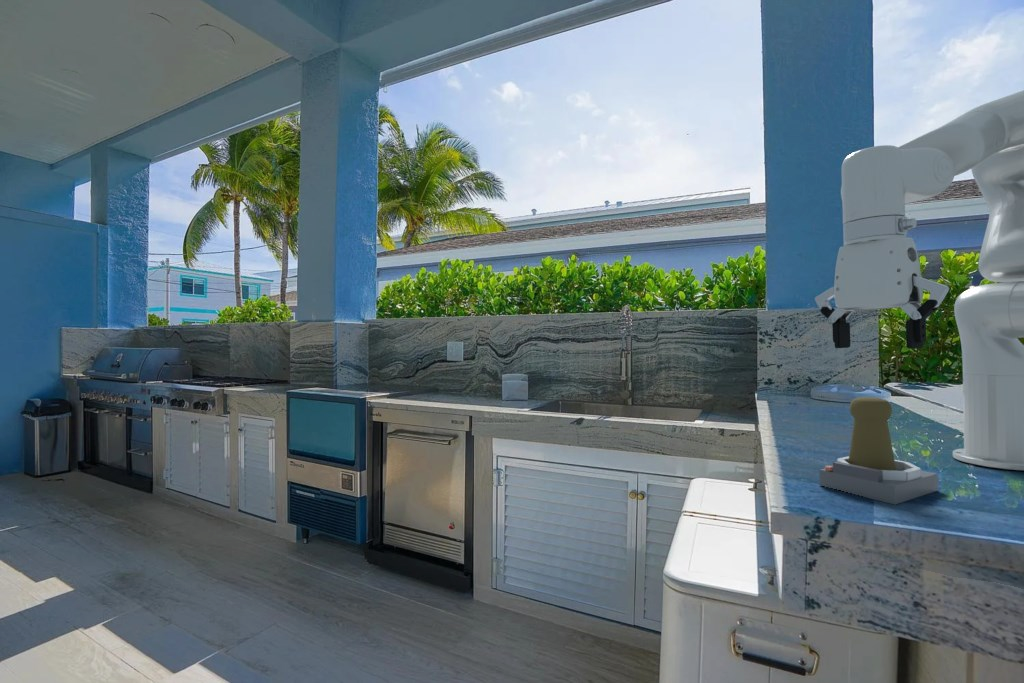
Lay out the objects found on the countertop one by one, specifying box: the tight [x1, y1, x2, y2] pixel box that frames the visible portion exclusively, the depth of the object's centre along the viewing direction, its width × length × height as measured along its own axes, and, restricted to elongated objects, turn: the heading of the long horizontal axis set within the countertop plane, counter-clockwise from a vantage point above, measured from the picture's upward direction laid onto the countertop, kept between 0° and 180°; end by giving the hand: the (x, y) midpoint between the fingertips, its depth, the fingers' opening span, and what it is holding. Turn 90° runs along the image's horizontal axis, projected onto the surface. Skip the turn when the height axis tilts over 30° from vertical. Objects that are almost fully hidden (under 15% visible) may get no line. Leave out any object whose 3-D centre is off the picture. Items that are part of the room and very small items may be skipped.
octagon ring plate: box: [819, 455, 939, 505], centre depth 74 cm, size 12×10×4 cm
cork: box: [848, 396, 896, 471], centre depth 75 cm, size 6×6×11 cm
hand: (876, 347), depth 74 cm, fingers open, 9 cm apart
